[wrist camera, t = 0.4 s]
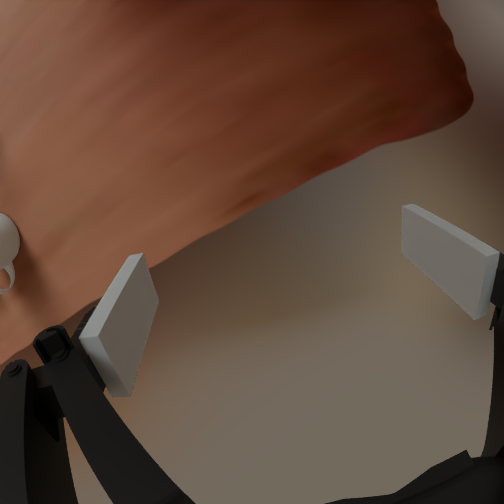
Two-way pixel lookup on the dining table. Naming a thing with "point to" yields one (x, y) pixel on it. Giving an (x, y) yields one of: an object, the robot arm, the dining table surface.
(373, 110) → the dining table surface
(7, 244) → the mug
